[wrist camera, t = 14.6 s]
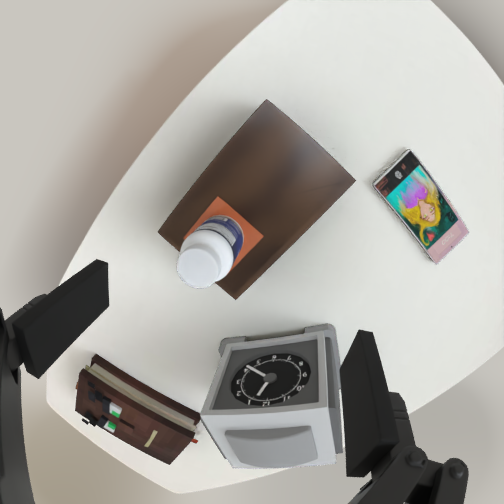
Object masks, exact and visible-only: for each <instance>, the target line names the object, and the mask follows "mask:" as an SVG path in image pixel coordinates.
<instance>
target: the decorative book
mask: <svg viewBox="0 0 504 504" xmlns="http://www.w3.org/2000/svg"><path fill="white" fill-rule="evenodd" d="M76 389H77V397H76V408H75V411H77V412H78V413H79V414H81V415H82V416H84V417H85V418H87V419H88V420H90V421H89V422H88V421H86V420H85V419H82V421H83V422H85V423H86V424H87V425H88V423H90V424H92V425H93V426H94V427H95V426H96V425H98V426H99V427H100V428H102V429H104V430H106V431H107V432H109V433H110V434H112V435H114V436H115V437H117V438H119V439H121V440H122V441H124V442H126V443H128V444H129V445H131V446H133V447H135V448H137V449H139V450H141V451H142V452H144V453H146V454H148V455H150V456H152V457H154V458H156V459H158V460H160V461H162V462H164V463H166V464H169V465H170V464H171V463H172V462H173V461H174V460H175V458H176V457H177V456H178V455H179V454H180V453H181V452H182V451H183V450H184V449H185V447H186V446H187V445H188V444H189V443H190V442H194V443H197V442H198V440H196V439H193V438H194V435H195V432H193V431H194V430H195V429H196V425H197V424H198V422H199V421H200V419H201V416H200V413H197V412H195V411H193V410H191V409H189V408H187V407H185V406H183V405H181V404H180V403H178V402H176V401H174V400H172V399H170V398H168V397H166V396H164V395H163V394H161V393H159V392H157V391H155V390H154V389H152V388H150V387H148V386H147V385H145V384H143V383H141V382H140V381H138V380H136V379H135V378H133V377H131V376H130V375H128V374H126V373H125V372H123V371H122V370H120V369H118V368H117V367H115V366H114V365H112V364H111V363H109V362H108V361H106V360H105V359H103V358H102V357H100V356H99V355H97V354H95V355H94V357H93V358H92V361H91V366H90V367H89V366H87V365H86V368H85V369H84V368H83V369H82V371H81V372H80V373H79V380H78V382H77V385H76Z"/></svg>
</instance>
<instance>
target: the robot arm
mask: <svg viewBox="0 0 504 504" xmlns="http://www.w3.org/2000/svg"><path fill="white" fill-rule="evenodd" d="M108 307H109V290H108V263H107V262H104V261H101V260H98V259H96V260H95V261H93V262H92V263H90V264H89V265H88V266H86V267H85V268H83V269H82V270H81V271H79V272H78V273H76V274H75V275H74V276H72V277H71V278H69V279H68V280H67V281H65V282H64V283H63V284H61V285H60V286H58V287H57V288H56V289H54V290H53V291H52V292H51V293H49V294H48V295H46V294H43V295H40V296H37V297H35V298H34V299H32V300H31V301H30V302H28V304H26V305H24V306H23V308H21V309H19V310H18V311H17V312H15V313H14V314H13V315H11V316H10V317H9V318H8V319H6V320H4V317H3V313H2V309H1V308H0V504H35V502H34V498H33V493H32V488H31V484H30V478H29V473H28V467H27V460H26V453H25V445H24V435H23V424H22V408H21V370H20V367H19V366H20V365H21V364H22V363H23V362H24V365H25V368H26V371H27V372H28V373H30V374H31V375H33V376H35V377H36V378H38V379H39V378H40V377H41V376H42V375H43V374H44V373H45V372H46V371H47V369H48V368H49V367H50V366H51V365H52V364H53V363H54V362H55V361H56V360H57V359H58V358H59V357H60V356H61V354H62V353H63V352H64V351H65V350H66V349H67V348H68V347H69V346H70V345H71V344H72V343H73V342H74V341H75V340H76V339H77V338H78V337H79V336H80V335H81V334H82V333H83V332H84V331H85V330H86V329H87V328H88V327H89V326H90V325H91V324H92V323H93V322H94V321H95V320H96V319H97V318H98V317H99V316H100V315H101V314H102V313H103V312H104V311H105V310H106V309H107V308H108ZM339 372H340V383H341V393H342V405H343V418H344V433H345V450H346V474H347V477H365V476H366V475H367V474H368V473H369V472H370V471H371V474H372V479H371V480H370V481H369V482H367V483H366V484H365V485H364V486H363V487H362V488H360V492H359V493H358V494H357V495H356V496H355V497H354V498H353V499H352V500H351V501H350V502H349V503H348V504H403V503H404V502H405V504H463V503H464V498H465V493H466V487H467V481H468V468H467V465H466V464H465V463H464V462H463V461H462V460H460V459H458V458H451V459H449V460H447V461H446V462H445V463H444V464H442V463H438V462H434V461H431V460H428V458H427V456H426V454H425V452H424V451H423V450H422V449H421V448H418V447H416V445H415V441H414V437H413V433H412V428H411V424H410V420H409V416H408V413H407V409H406V405H405V402H404V400H403V399H402V397H401V396H400V395H399V393H395V392H389V391H388V387H387V383H386V379H385V375H384V371H383V367H382V364H381V360H380V356H379V353H378V349H377V346H376V342H375V339H374V335H373V332H368V331H363V330H358V332H357V335H356V337H355V339H354V341H353V343H352V345H351V347H350V349H349V351H348V353H347V355H346V357H345V359H344V361H343V363H342V365H341V367H340V369H339Z"/></svg>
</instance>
